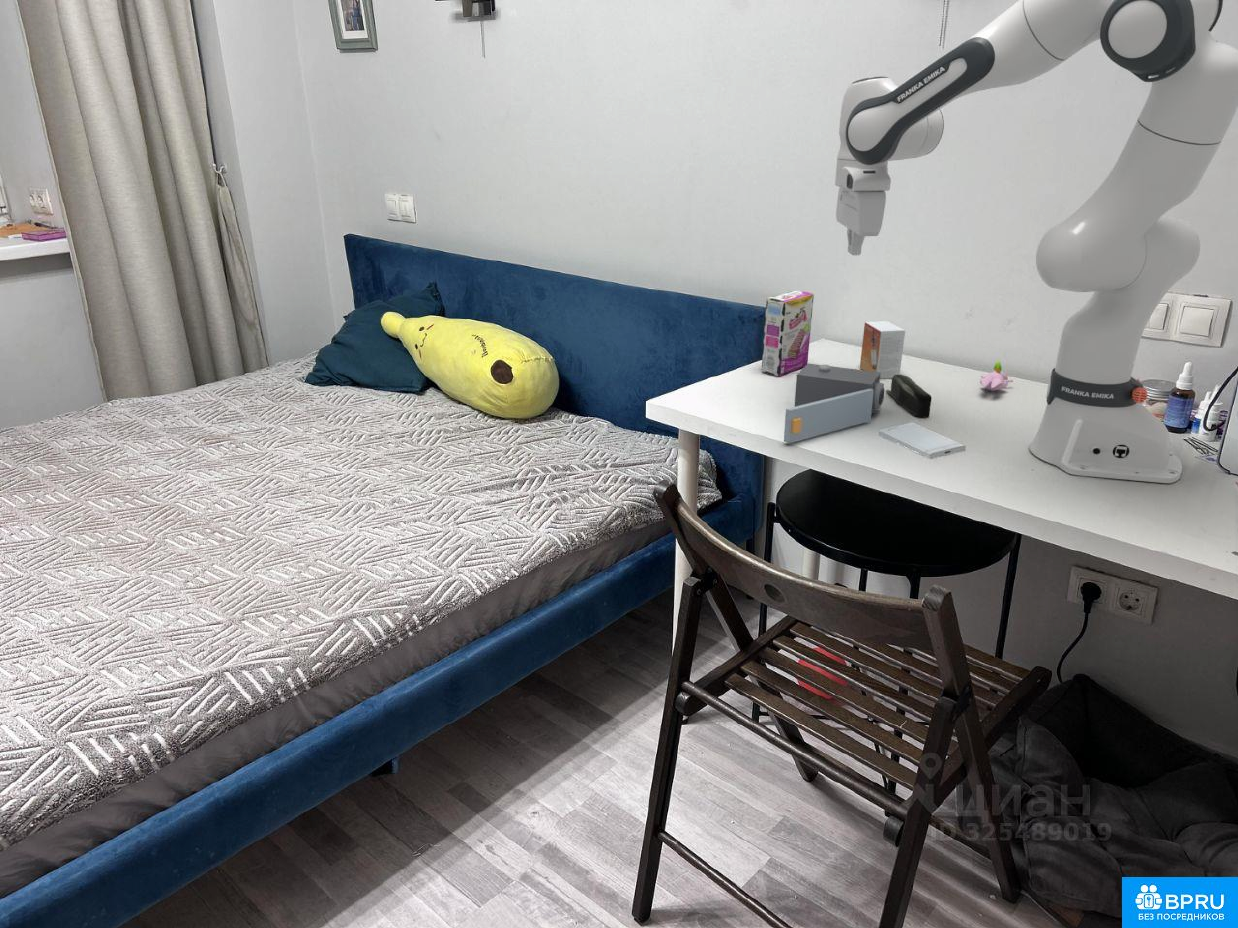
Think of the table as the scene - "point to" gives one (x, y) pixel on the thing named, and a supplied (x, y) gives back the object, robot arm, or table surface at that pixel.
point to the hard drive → (921, 440)
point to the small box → (882, 348)
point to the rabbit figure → (995, 379)
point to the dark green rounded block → (910, 395)
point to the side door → (828, 415)
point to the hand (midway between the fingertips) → (854, 254)
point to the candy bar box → (787, 332)
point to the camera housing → (835, 384)
